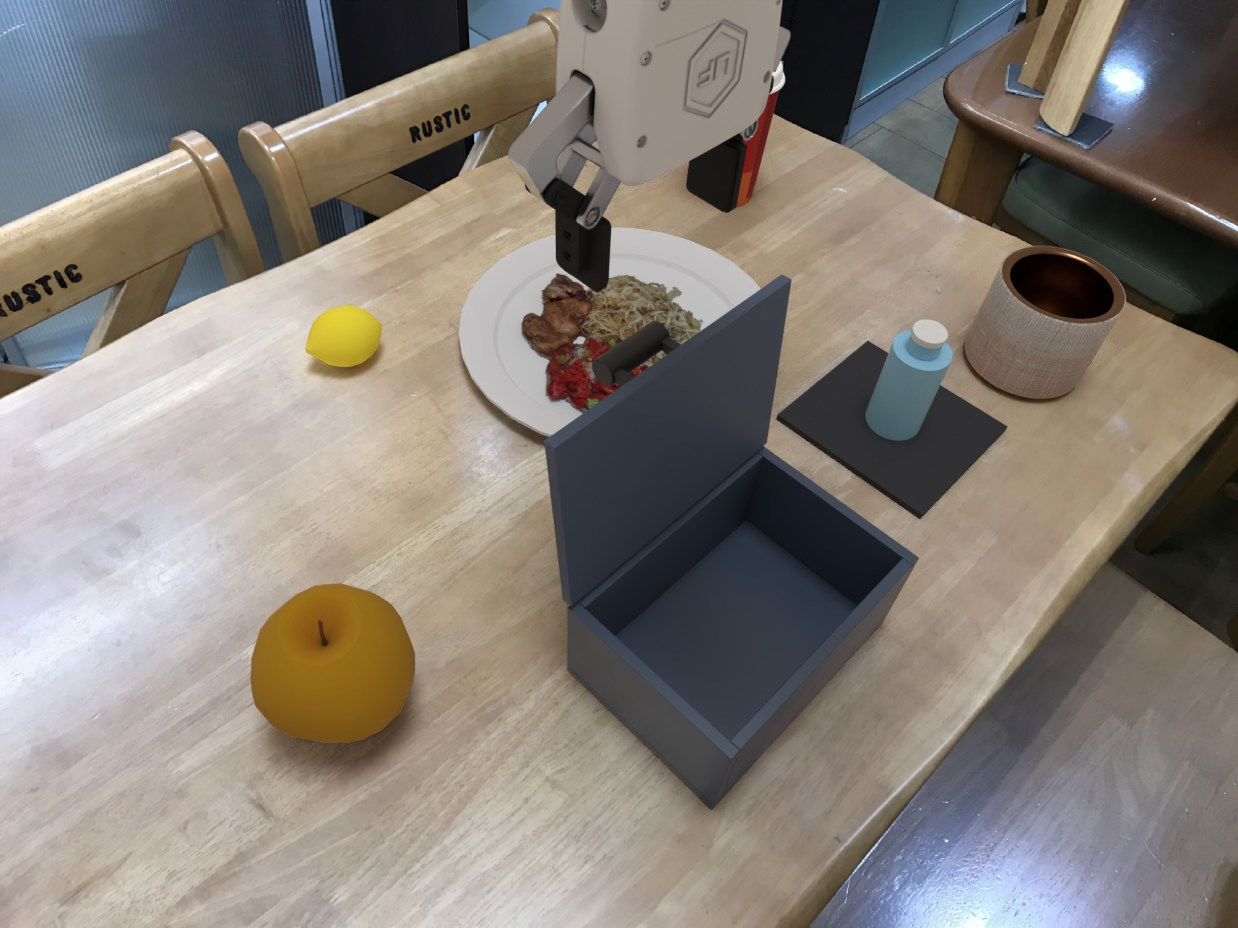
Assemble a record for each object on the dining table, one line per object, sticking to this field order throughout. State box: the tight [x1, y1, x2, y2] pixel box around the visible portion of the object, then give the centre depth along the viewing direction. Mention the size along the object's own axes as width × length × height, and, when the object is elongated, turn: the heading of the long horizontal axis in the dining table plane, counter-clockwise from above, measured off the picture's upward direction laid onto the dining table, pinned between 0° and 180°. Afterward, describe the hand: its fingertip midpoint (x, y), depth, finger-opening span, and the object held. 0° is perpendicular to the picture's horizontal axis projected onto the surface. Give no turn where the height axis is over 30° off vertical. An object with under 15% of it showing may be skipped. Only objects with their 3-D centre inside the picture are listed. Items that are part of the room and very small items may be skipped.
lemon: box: [304, 304, 383, 368], centre depth 79 cm, size 7×5×5 cm
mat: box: [775, 340, 1008, 519], centre depth 78 cm, size 15×14×1 cm
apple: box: [250, 582, 416, 744], centre depth 56 cm, size 10×10×12 cm
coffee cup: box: [736, 60, 786, 208], centre depth 94 cm, size 8×8×15 cm
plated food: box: [458, 226, 781, 438], centre depth 83 cm, size 30×30×3 cm
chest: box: [566, 445, 920, 810], centre depth 61 cm, size 14×20×9 cm
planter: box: [964, 245, 1127, 400], centre depth 81 cm, size 11×11×10 cm
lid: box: [544, 274, 793, 606], centre depth 56 cm, size 14×20×5 cm
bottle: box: [865, 319, 954, 441], centre depth 74 cm, size 5×5×11 cm
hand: (649, 236), depth 46 cm, fingers open, 9 cm apart
